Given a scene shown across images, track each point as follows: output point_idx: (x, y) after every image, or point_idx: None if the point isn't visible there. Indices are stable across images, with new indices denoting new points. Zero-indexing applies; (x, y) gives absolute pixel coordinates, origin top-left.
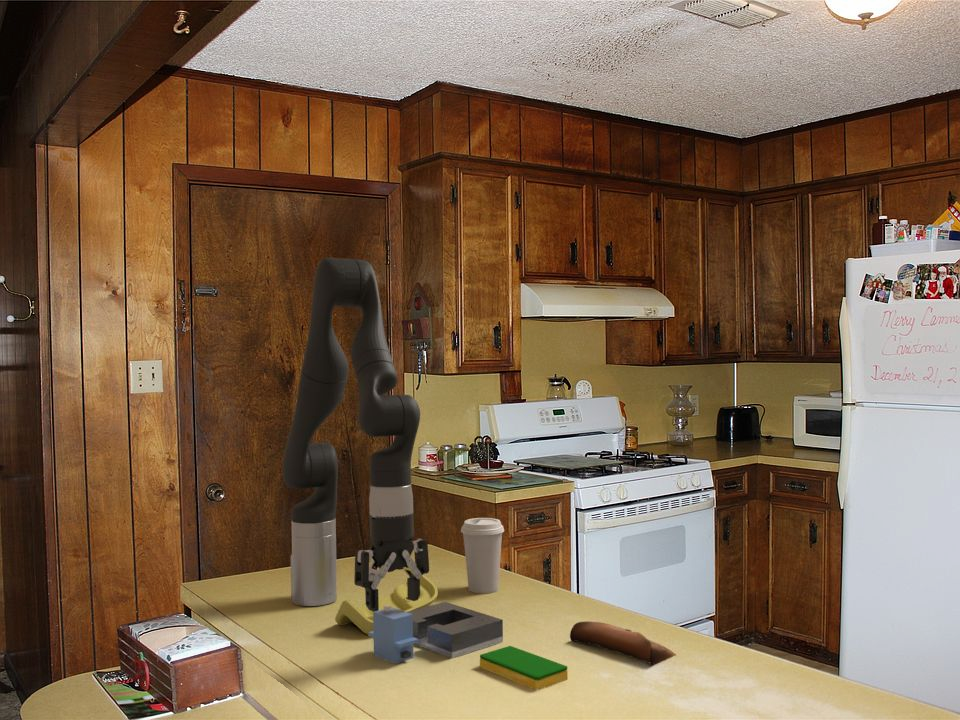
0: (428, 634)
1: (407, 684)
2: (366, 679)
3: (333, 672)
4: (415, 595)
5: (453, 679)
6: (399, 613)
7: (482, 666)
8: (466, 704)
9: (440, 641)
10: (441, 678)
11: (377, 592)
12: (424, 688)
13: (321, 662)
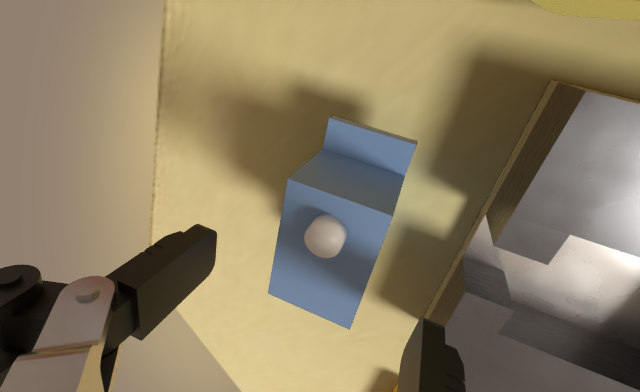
0: (462, 277)
1: (252, 289)
2: (221, 210)
3: (198, 120)
4: (400, 379)
5: (317, 349)
6: (331, 284)
7: (396, 386)
8: (253, 383)
9: (438, 313)
10: (309, 331)
11: (149, 326)
12: (258, 319)
13: (217, 34)
